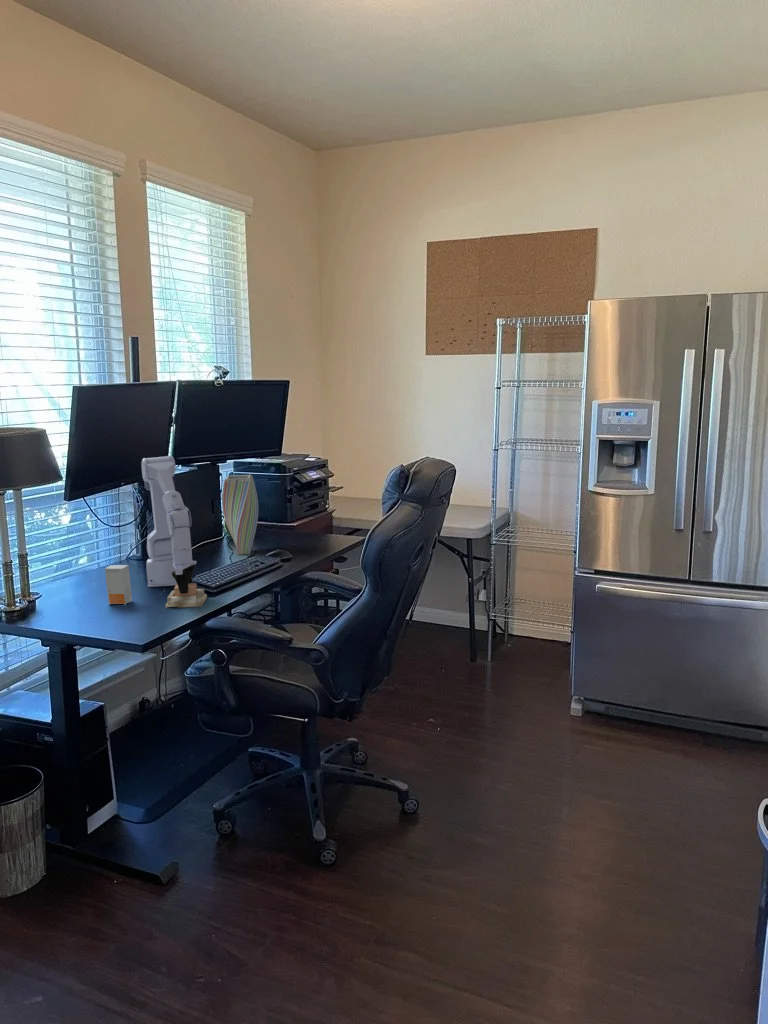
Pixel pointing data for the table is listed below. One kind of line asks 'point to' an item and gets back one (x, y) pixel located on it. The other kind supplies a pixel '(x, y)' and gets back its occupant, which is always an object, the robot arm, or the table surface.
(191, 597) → the stand
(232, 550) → the table surface
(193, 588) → the keyed block
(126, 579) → the skincare box
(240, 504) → the vase
